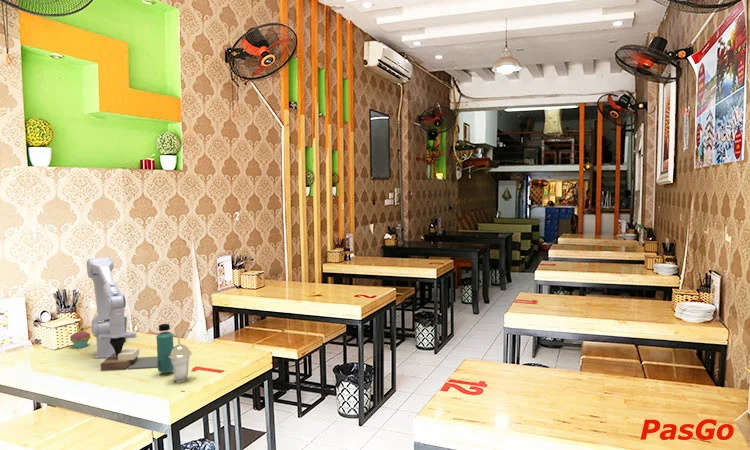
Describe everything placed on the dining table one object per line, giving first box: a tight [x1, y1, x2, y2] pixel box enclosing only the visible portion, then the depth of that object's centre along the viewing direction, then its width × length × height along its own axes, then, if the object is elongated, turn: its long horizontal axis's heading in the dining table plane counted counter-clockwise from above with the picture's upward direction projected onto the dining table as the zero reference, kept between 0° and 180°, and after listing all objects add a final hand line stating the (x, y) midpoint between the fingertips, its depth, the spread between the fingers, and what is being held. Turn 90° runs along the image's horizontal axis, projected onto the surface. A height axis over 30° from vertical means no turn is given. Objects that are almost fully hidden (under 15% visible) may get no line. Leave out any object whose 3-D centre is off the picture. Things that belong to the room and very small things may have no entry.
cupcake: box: [69, 323, 91, 349], centre depth 251 cm, size 9×8×12 cm
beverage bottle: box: [155, 323, 174, 373], centre depth 210 cm, size 6×7×20 cm
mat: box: [127, 356, 158, 370], centre depth 224 cm, size 14×12×1 cm
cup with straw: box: [168, 329, 193, 383], centre depth 202 cm, size 8×9×20 cm
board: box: [100, 353, 139, 372], centre depth 222 cm, size 14×10×3 cm
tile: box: [118, 347, 140, 361], centre depth 223 cm, size 8×6×2 cm
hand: (118, 355), depth 222 cm, fingers closed
